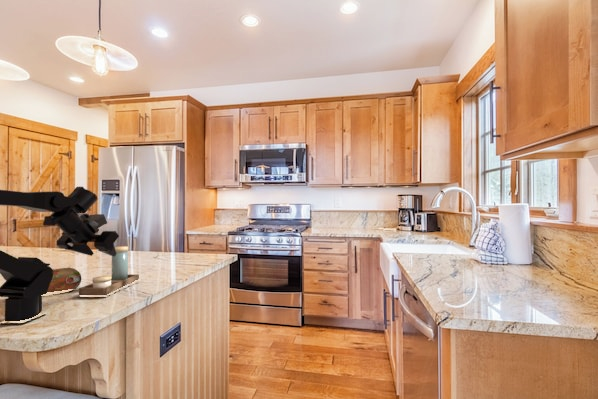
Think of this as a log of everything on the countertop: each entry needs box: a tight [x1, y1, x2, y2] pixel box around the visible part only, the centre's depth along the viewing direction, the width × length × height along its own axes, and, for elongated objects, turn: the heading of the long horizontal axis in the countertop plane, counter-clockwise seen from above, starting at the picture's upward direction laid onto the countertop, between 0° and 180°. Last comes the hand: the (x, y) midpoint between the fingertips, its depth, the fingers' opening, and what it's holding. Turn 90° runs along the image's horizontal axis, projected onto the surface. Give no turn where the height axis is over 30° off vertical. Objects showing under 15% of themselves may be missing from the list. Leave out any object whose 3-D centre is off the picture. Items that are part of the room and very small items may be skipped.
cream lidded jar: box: [92, 275, 112, 288], centre depth 93 cm, size 5×5×5 cm
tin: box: [24, 267, 82, 292], centre depth 92 cm, size 15×3×8 cm, turn 129°
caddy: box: [78, 273, 140, 296], centre depth 97 cm, size 18×9×3 cm, turn 179°
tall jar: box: [111, 245, 129, 280], centre depth 101 cm, size 5×5×14 cm
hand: (103, 255), depth 95 cm, fingers open, 9 cm apart
